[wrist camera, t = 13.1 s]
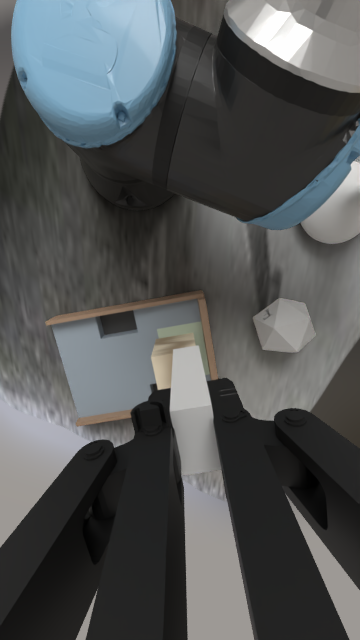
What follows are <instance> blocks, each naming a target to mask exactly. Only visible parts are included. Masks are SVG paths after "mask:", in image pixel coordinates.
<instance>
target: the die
mask: <svg viewBox="0 0 360 640" xmlns="http://www.w3.org/2000/svg"><path fill="white" fill-rule="evenodd" d="M253 321H254V324H255V327H256V330H257V334H258V337H259V340H260V343H261V347H262V350H270V351H278V352H287V353H297V352H299V351H300V350H301V349H302V348H303V347H304V346H305V345H306V344H307V343H308V342H309V341H310V340H312V339H313V338H314V337H315V336H316V334H315V331H314V328H313V325H312V322H311V319H310V316H309V313H308V310H307V307H306V304H305V303H302V302H298V301H293V300H289V299H285V298H278V299H277V300H276V301H274V302H273V303H272V304H270V305H269V306H268V307H266V308H265V309H264V310H262V311H261V312H259V313H258V314H257V315H255V316H254V317H253Z"/></svg>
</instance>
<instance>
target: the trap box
mask: <svg viewBox="0 0 360 640" xmlns="http://www.w3.org/2000/svg"><path fill="white" fill-rule="evenodd" d="M46 325H52V328H53V332H54V335H55V339H56V342H57V345H58V349H59V352H60V356H61V359H62V362H63V366H64V369H65V373H66V376H67V379H68V383H69V386H70V389H71V393H72V396H73V400H74V403H75V406H76V410H77V413H78V417H79V419H78V420H77V422H76V426H83V425H89V424H95V423H101V422H107V421H113V420H119V419H125V418H131V414H130V412H131V411H132V409H133V408H134V407H135V406H137V405H138V404H140V403H142V402H145V401H148V398H149V396H150V395H151V394H152V392H153V391H155V390H158V388H157V383H156V378H155V374H154V369H153V364H152V360H151V355H152V352H153V348H154V344H155V340H156V339H159V338H165V337H171V336H177V335H182V334H188V333H194V339H195V344H196V345H199V349H200V354H201V359H202V363H203V368H204V372H205V377H206V381H210V380H216V379H218V375H217V369H216V362H215V356H214V350H213V344H212V337H211V331H210V325H209V319H208V312H207V306H206V300H205V297H204V293H203V291H202V290H198V291H192V292H187V293H181V294H176V295H170V296H165V297H159V298H153V299H148V300H142V301H137V302H131V303H126V304H120V305H114V306H109V307H103V308H98V309H92V310H87V311H81V312H75V313H70V314H64V315H59V316H55V317H53V318H51V319H49V320H47V321H46Z"/></svg>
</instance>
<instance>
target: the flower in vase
mask: <svg viewBox="0 0 360 640" xmlns="http://www.w3.org/2000/svg"><path fill="white" fill-rule="evenodd" d="M301 225H302V227H303V228H304V230H305V231H306V232H307V234H308V235H309V236H311V237H312V238H313V239H315V240H317V241H319V242H322V243H327V244H337V243H342V242H345V241H348V240H350V239H352V238H353V237H355V236H356V235H358V234H359V233H360V163H358V162H355V161H353V162H352V163H351V171H350V173H349V174H348V176H347V177H346V178H345V180H344V181H343V182H342V184H341V185H340V186H339V187H338V189H337V190H336V191H335V192H334V193H333V195H332V196H331V197H330V198H329V199H328V200H327V201H326V202H325V203H324V204H323V205H322V206H321V207H320V208H319V209H318V210H317V211H315V212H314V213H313V214H312V215H311V216H309V217H308V218H307V219H305V220H304V221H302V222H301Z"/></svg>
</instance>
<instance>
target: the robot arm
mask: <svg viewBox="0 0 360 640" xmlns="http://www.w3.org/2000/svg"><path fill="white" fill-rule="evenodd" d="M11 39H12V53H13V60H14V64H15V69H16V72H17V76H18V79H19V81H20V84H21V86H22V88H23V90H24V92H25V94H26V96H27V98H28V100H29V101H30V103H31V104H32V106H33V107H34V109H35V110H36V111H37V113H38V114H39V115H40V117H41V119H42V120H43V122H44V124H45V125H47V126H48V128H49V129H50V131H52V132H53V133H54V134H55V136H57V137H59V138H60V139H62V140H63V141H64V142H65V143H66V144H67V145H68V146H69V147H70V148H71V149H72V150H73V151H74V152H75V153H76V154H78V155H79V157H80V161H81V165H82V168H83V170H84V172H85V174H86V176H87V178H88V180H89V182H90V183H91V184H92V186H93V187H94V188H95V189H96V191H97V192H98V193H99V194H101V195H102V196H103V197H104V198H105V199H107V200H108V201H110V202H111V203H113V204H114V205H116V206H119V207H121V208H124V209H128V210H147V209H151V208H154V207H157V206H159V205H161V204H162V203H164V202H165V201H167V200H168V199H169V198H170V197H171V196H172V195H173V194H174V193H175V194H178V195H180V196H183V197H185V198H188V199H191V200H193V201H196V202H198V203H201V204H203V205H206V206H209V207H211V208H214V209H216V210H219V211H221V212H224V213H227V214H229V215H232V216H234V217H236V218H237V219H238V220H239V221H240V222H243V223H248V224H255V225H258V226H261V227H264V228H267V229H271V230H283V229H288V228H291V227H293V226H295V225H297V224H299V223H301V222H302V221H304V220H305V219H307V218H308V217H309V216H311V215H312V214H313V213H314V212H315V211H317V210H318V209H319V208H320V207H321V206H322V205H323V204H324V203H325V202H326V201H327V200H328V199H329V198H330V197H331V196H332V195H333V193H334V192H335V191H336V190H337V189H338V187H339V186H340V185H341V184H342V182H343V181H344V180H345V178H346V177H347V176H348V174H349V173H350V171H351V163H352V162H353V161H354V160H355V159H356V158H357V157H359V156H360V0H229V1H228V2H227V4H226V7H225V10H224V15H223V18H222V22H221V26H220V30H219V33H218V36H217V35H213V34H212V33H209V32H207V31H205V30H203V29H201V28H198V27H196V26H194V25H192V24H190V23H188V22H186V21H183V20H181V19H179V18H177V17H175V14H174V9H173V5H172V3H171V0H17V1H16V5H15V9H14V14H13V20H12V36H11ZM130 414H131V418H132V422H133V426H134V430H135V436H134V439H133V440H131V441H130V442H128V443H125V444H123V445H120V446H118V447H115V448H114V446H113V443H112V442H111V441H109V440H104V439H103V440H96V441H94V442H91V443H89V444H87V445H85V446H84V447H82V448H81V449H80V450H79V451H78V452H77V453H76V454H75V456H74V457H73V458H72V459H71V461H70V462H69V463H68V464H67V466H66V467H65V468H64V469H63V471H62V472H61V473H60V474H59V476H58V477H57V478H56V479H55V480H54V482H53V483H52V485H50V487H49V488H48V489H47V490H46V492H45V493H44V494H43V495H42V497H41V498H40V499H39V501H38V502H37V503H36V504H35V505H34V507H33V508H32V509H31V510H30V511H29V513H28V514H27V515H26V516H25V518H24V519H23V520H22V521H21V523H20V524H19V525H18V526H17V528H16V529H15V530H14V531H13V533H12V534H11V535H10V536H9V538H8V539H7V540H6V541H5V543H4V544H3V545H2V546H1V548H0V640H76V637H77V635H78V633H79V631H80V628H81V626H82V624H83V621H84V619H85V617H86V614H87V612H88V610H89V607H90V605H91V603H92V600H93V598H94V596H95V593H96V591H97V595H96V599H95V603H94V607H93V612H92V616H91V620H90V624H89V628H88V633H87V637H86V640H187V639H188V638H187V599H186V560H185V521H184V520H185V519H184V487H183V481H182V477H181V469H182V474H183V476H185V475H192V474H198V473H205V472H211V471H218V470H222V475H223V480H224V486H225V492H226V498H227V501H228V506H229V511H230V517H231V522H232V526H233V532H234V537H235V542H236V547H237V553H238V557H239V563H240V568H241V573H242V578H243V584H244V588H245V593H246V599H247V604H248V609H249V614H250V619H251V624H252V630H253V635H254V640H349V638H348V636H347V633H346V631H345V629H344V626H343V624H342V622H341V620H340V617H339V615H338V613H337V611H336V608H335V606H334V604H333V601H332V599H331V597H330V595H329V593H328V590H327V588H326V586H325V583H324V581H323V579H322V577H321V574H320V572H319V570H318V567H317V565H316V563H315V561H314V559H313V556H312V554H311V551H310V549H309V547H308V545H307V542H306V540H305V538H304V536H303V533H302V531H301V529H300V526H299V524H298V522H297V520H296V517H295V515H294V513H293V511H292V508H291V506H290V504H289V501H288V499H287V497H286V495H287V496H288V497H289V499H290V500H291V501H292V503H293V504H294V505H295V506H296V508H297V509H298V510H299V512H300V513H301V514H302V515H303V517H304V518H305V520H306V521H307V522H308V523H309V525H310V526H311V527H312V529H313V530H314V531H315V533H316V534H317V535H318V536H319V538H320V539H321V540H322V542H323V543H324V544H325V546H326V547H327V548H328V549H329V551H330V552H331V553H332V555H333V556H334V557H335V559H336V560H337V561H338V563H339V564H340V565H341V566H342V568H343V569H344V570H345V572H346V573H347V574H348V576H349V577H350V578H351V579H352V581H353V582H354V583H355V585H356V586H357V587H358V589H359V590H360V448H358V447H357V446H355V445H354V444H352V443H351V442H350V441H349V440H347V439H346V438H344V437H343V436H342V435H340V434H339V433H338V432H336V431H335V430H334V429H332V428H331V427H330V426H328V425H327V424H325V423H324V422H323V421H321V420H320V419H319V418H317V417H316V416H315V415H313V414H312V413H310V412H308V411H306V410H302V409H296V408H290V409H284V410H282V411H280V412H278V413H277V414H276V415H275V416H274V421H265V420H258V419H255V418H253V417H251V415H250V413H249V412H248V411H247V410H245V409H244V408H243V405H242V403H241V400H240V398H239V396H238V393H237V391H236V389H235V386H234V384H233V382H232V381H230V380H229V379H227V378H223V379H216V380H210V381H206V377H205V372H204V368H203V363H202V359H201V354H200V349H199V345H196V346H191V347H185V348H179V349H173V361H172V379H171V388H167V389H161V390H155V391H153V392H152V394H151V395H150V396H149V398H148V401H145V402H142V403H140V404H138V405H137V406H135V407H134V408H133V409H132V411H131V412H130ZM285 493H286V495H285ZM97 589H98V590H97Z"/></svg>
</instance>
